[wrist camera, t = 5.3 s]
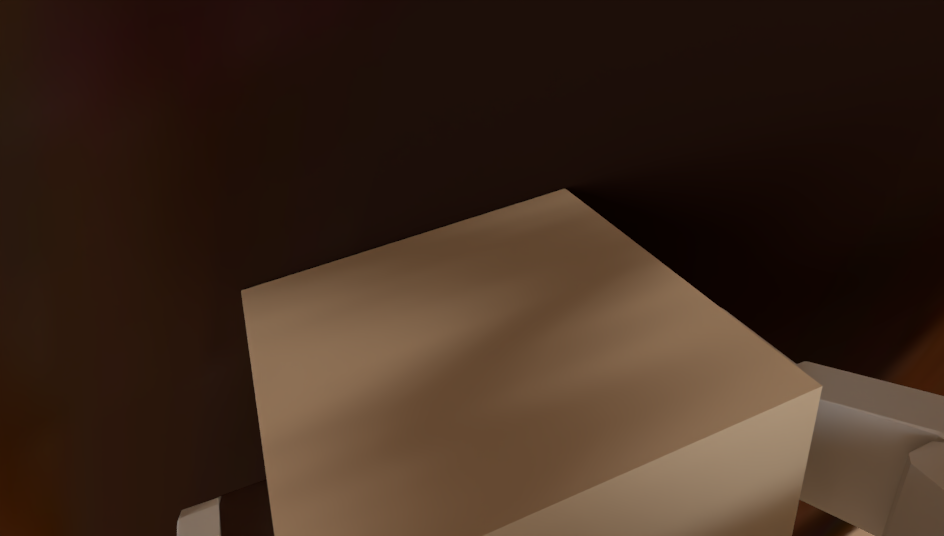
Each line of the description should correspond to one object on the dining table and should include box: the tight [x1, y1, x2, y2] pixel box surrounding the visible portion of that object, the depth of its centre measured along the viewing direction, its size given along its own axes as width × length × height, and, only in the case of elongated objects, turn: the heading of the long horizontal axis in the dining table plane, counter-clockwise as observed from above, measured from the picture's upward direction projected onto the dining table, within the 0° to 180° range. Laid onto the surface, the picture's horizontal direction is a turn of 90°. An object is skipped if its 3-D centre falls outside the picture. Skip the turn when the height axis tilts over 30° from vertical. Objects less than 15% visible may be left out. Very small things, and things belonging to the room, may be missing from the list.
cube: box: [241, 189, 822, 536], centre depth 9 cm, size 5×5×5 cm
